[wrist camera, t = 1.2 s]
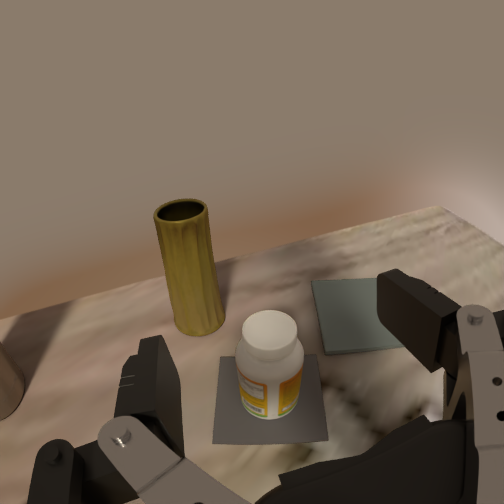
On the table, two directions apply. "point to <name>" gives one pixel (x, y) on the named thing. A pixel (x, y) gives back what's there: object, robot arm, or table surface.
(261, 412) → the supplement bottle
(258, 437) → the dark gray tile
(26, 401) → the table surface
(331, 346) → the slate pad
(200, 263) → the vase
